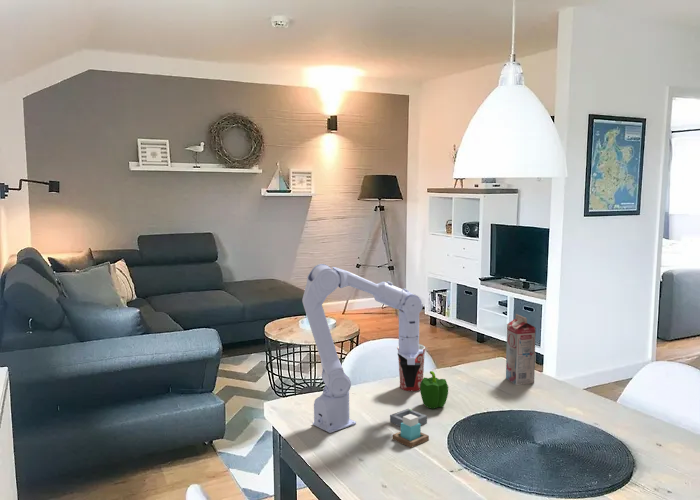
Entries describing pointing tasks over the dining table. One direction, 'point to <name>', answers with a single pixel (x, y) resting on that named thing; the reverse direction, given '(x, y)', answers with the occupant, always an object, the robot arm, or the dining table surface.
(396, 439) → the wooden square frame
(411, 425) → the plug
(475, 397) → the dining table surface
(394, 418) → the port
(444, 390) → the bell pepper
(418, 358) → the mug
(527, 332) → the juice carton
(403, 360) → the robot arm
